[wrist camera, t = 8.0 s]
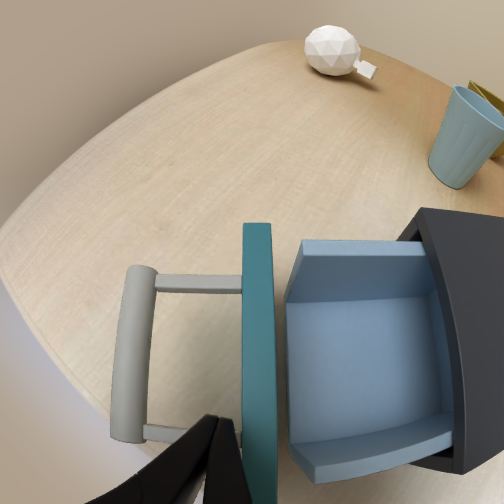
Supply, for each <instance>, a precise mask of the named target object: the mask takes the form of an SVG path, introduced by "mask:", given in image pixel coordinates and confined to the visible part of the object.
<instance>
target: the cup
mask: <svg viewBox="0 0 504 504" xmlns="http://www.w3.org/2000/svg"><path fill="white" fill-rule="evenodd" d="M503 141H504V117H503V116H502V114H501V113H500V112H499V111H498V110H497V109H496V108H495V107H493V106H492V105H491V104H490V103H489V102H488V101H486V100H485V99H484V98H482V97H481V96H479V95H478V94H476V93H475V92H473V91H471V90H469V89H468V88H465V87H463V86H460V85H454V86H453V89H452V93H451V96H450V100H449V103H448V106H447V109H446V112H445V115H444V118H443V121H442V124H441V127H440V130H439V133H438V135H437V138H436V141H435V143H434V146H433V149H432V151H431V154H430V156H429V159H428V163H429V167H430V169H431V170H432V172H433V173H434V174H435V176H436V177H437V178H438V179H439V180H440V181H442V182H443V183H444V184H446V185H448V186H449V187H452V188H455V189H459V188H462V187H463V186H464V185H465V184H466V183H467V182H468V181H469V180H470V179H471V178H472V176H473V175H474V174H475V173H476V172H477V171H478V170H479V169H480V168H481V167H482V165H483V164H484V163H485V162H486V161H487V160H488V159H489V157H490V156H491V155H492V154H493V153H494V151H495V150H496V149H497V148H498V147H499V145H500V144H501V143H502V142H503Z"/></svg>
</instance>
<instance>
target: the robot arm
mask: <svg viewBox="0 0 504 504" xmlns="http://www.w3.org/2000/svg"><path fill="white" fill-rule="evenodd" d="M137 474H138V475H137ZM137 474H134V476H132V477H130V478H129V479H128V480H126V481H125V482H124V483H122V484H121V485H119V486H118V487H117V488H114V489H113V490H111V491H109V492H107V493H106V494H104V495H102V496H100V497H98V498H96V499H93V500H91V501H89V502H87V503H85V504H193V503H194V501H195V499H196V497H197V494H198V492H199V490H200V488H201V485H202V483H203V481H204V479H205V487H204V496H203V504H253V500H252V497H251V493H250V489H249V486H248V482H247V478H246V474H245V470H244V466H243V462H242V458H241V454H240V450H239V446H238V442H237V438H236V433H235V429H234V424H233V421H232V419H229V418H224V417H220V418H219V417H218V416H215V415H211V414H206V415H204V416H203V417H202V418H201V419H200V420H199V421H198V422H197V423H196V424H195V425H193V426H192V427H191V428H190V429H189V430H188V431H187V432H186V433H184V434H183V435H182V436H181V437H180V438H179V439H177V440H176V441H175V442H174V443H173V444H172V445H170V446H169V447H168V448H167V449H166V450H165V451H163V452H162V453H161V454H160V455H158V456H157V457H156V458H155V459H154V460H152V461H151V462H150V463H149V464H147V465H146V466H145V467H144V468H142V469H141V470H140V471H138V472H137ZM205 476H206V478H205Z"/></svg>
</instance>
